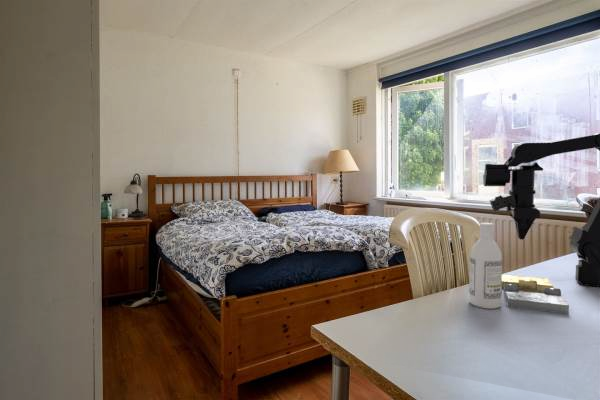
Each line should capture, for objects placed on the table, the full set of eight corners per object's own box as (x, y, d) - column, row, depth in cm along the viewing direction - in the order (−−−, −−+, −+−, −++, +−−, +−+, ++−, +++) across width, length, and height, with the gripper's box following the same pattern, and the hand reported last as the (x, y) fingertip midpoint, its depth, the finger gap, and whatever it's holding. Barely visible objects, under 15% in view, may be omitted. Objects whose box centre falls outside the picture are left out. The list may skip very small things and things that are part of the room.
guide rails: (550, 286, 102) (550, 283, 102) (561, 299, 91) (561, 296, 91) (495, 280, 107) (495, 278, 107) (499, 293, 97) (500, 290, 97)
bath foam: (505, 304, 89) (508, 223, 87) (493, 312, 85) (495, 226, 83) (477, 297, 94) (478, 220, 93) (464, 303, 90) (465, 223, 88)
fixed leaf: (558, 300, 91) (558, 287, 91) (568, 313, 83) (569, 300, 82) (503, 294, 96) (504, 282, 96) (508, 306, 87) (508, 293, 87)
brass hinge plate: (547, 285, 103) (547, 274, 103) (555, 296, 94) (555, 283, 94) (498, 281, 108) (499, 270, 107) (502, 290, 99) (502, 279, 99)
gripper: (489, 185, 119) (488, 232, 120) (494, 187, 102) (493, 242, 103) (529, 185, 115) (527, 234, 116) (541, 188, 98) (539, 245, 99)
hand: (520, 238), depth 109 cm, fingers closed
